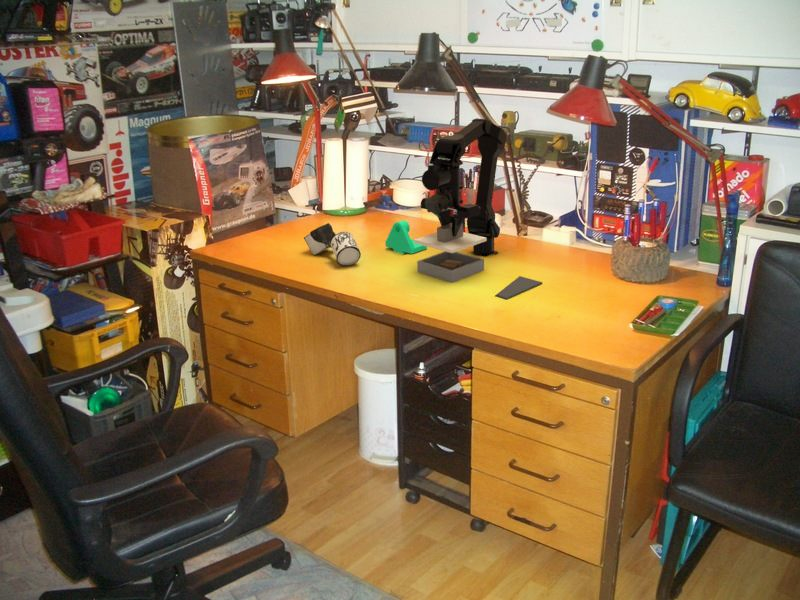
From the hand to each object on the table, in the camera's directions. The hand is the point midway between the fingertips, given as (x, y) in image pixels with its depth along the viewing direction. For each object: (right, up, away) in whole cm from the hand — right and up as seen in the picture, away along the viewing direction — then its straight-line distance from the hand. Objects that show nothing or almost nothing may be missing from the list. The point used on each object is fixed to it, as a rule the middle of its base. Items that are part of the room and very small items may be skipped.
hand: (450, 235), depth 231 cm
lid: (0, -2, +1) cm, 2 cm away
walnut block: (0, -10, +4) cm, 11 cm away
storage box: (0, -11, +4) cm, 12 cm away
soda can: (+4, +3, +39) cm, 39 cm away
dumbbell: (-36, -6, +20) cm, 42 cm away
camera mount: (-12, -3, +27) cm, 30 cm away
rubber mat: (+14, -15, -7) cm, 22 cm away
